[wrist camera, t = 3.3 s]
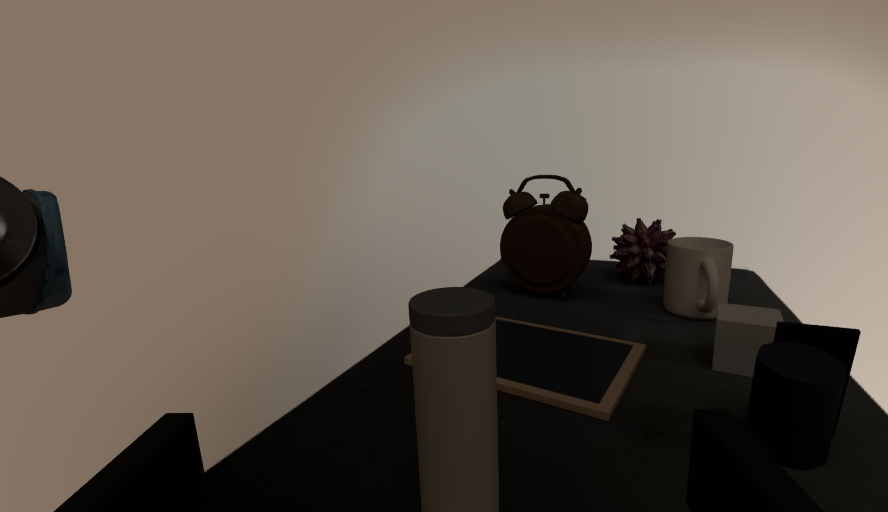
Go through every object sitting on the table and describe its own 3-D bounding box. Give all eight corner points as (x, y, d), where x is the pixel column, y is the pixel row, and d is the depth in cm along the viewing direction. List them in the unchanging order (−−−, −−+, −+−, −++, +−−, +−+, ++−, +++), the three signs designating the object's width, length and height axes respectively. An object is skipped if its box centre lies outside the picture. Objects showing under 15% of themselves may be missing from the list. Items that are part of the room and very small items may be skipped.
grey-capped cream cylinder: (413, 619, 25) (390, 306, 21) (453, 564, 28) (439, 282, 24) (478, 661, 23) (466, 321, 19) (513, 596, 26) (510, 293, 22)
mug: (744, 333, 60) (753, 256, 58) (675, 330, 62) (681, 255, 60) (715, 302, 72) (722, 237, 69) (657, 300, 74) (662, 236, 71)
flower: (615, 279, 91) (682, 269, 86) (615, 295, 80) (692, 285, 75) (604, 221, 89) (672, 208, 85) (603, 230, 78) (681, 216, 74)
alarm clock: (594, 292, 78) (598, 173, 74) (581, 306, 73) (584, 176, 68) (514, 282, 86) (513, 173, 82) (497, 293, 80) (495, 176, 76)
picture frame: (404, 364, 56) (403, 356, 56) (474, 318, 70) (474, 311, 69) (608, 421, 43) (609, 412, 43) (645, 351, 57) (646, 343, 56)
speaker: (756, 407, 44) (773, 308, 40) (834, 435, 40) (862, 327, 36) (731, 453, 39) (749, 344, 35) (819, 490, 35) (849, 371, 31)
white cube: (711, 370, 51) (716, 319, 50) (713, 349, 56) (717, 302, 55) (778, 382, 48) (785, 328, 47) (773, 358, 53) (780, 309, 52)
